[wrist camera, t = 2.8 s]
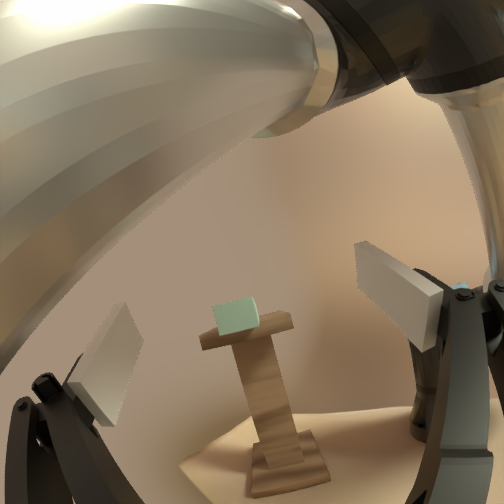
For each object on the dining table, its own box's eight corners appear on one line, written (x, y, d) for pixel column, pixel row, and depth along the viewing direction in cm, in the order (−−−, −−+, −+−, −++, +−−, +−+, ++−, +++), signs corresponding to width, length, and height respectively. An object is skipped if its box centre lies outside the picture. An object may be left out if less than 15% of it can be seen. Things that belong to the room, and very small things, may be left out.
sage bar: (259, 326, 26) (251, 296, 27) (219, 335, 26) (212, 306, 27) (259, 317, 45) (254, 300, 46) (235, 323, 45) (231, 306, 45)
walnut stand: (331, 480, 29) (290, 313, 34) (253, 498, 29) (198, 335, 34) (311, 435, 47) (279, 310, 52) (255, 448, 46) (218, 326, 52)
